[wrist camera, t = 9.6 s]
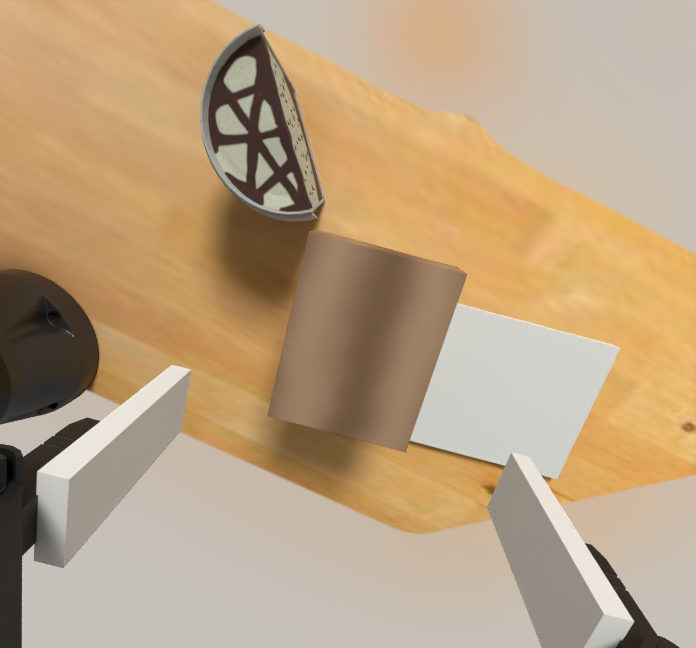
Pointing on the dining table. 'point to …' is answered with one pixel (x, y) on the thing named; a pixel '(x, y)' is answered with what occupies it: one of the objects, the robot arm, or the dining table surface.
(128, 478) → the robot arm
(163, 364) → the dining table surface
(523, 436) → the rubber mat
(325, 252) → the walnut board
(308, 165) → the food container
